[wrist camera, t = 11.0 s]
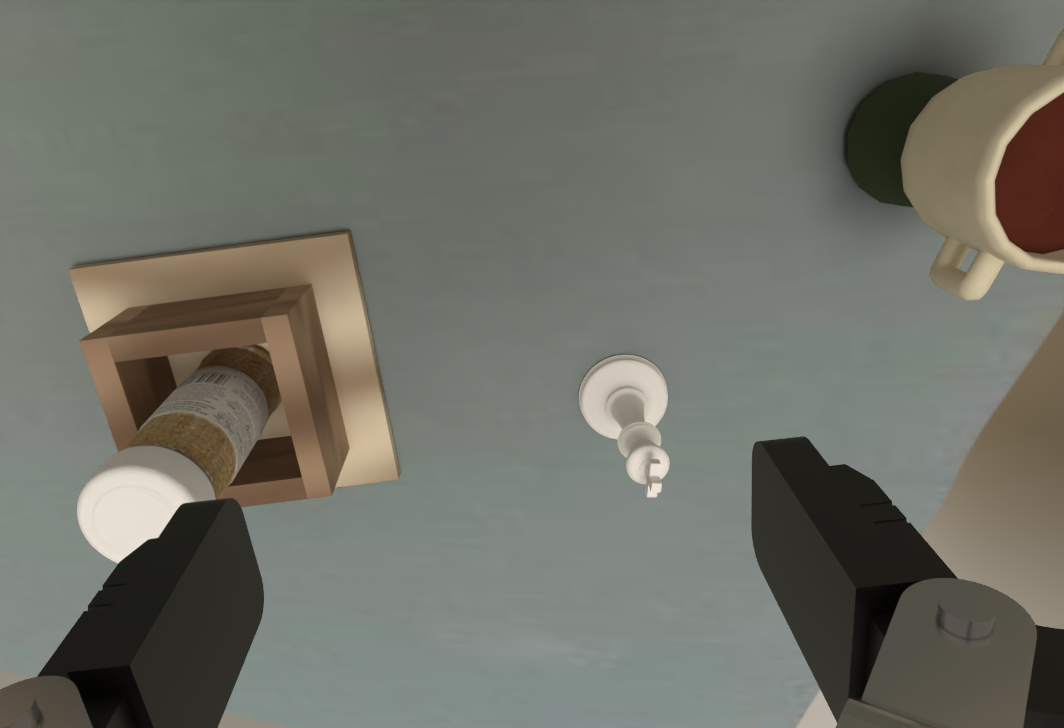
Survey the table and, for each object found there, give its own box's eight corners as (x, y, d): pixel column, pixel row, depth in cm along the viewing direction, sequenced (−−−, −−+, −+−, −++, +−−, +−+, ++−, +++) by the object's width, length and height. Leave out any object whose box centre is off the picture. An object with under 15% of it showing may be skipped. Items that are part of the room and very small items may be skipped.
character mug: (910, 263, 42) (1080, 348, 29) (790, 218, 40) (916, 288, 28) (1022, 54, 38) (1269, 54, 26) (895, -1, 37) (1090, -29, 25)
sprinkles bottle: (200, 413, 42) (75, 568, 30) (199, 333, 40) (67, 462, 28) (287, 422, 43) (200, 579, 30) (290, 344, 41) (199, 476, 28)
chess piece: (575, 434, 44) (595, 534, 35) (581, 352, 43) (605, 435, 33) (661, 436, 45) (704, 536, 35) (671, 355, 43) (719, 438, 34)
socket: (75, 265, 40) (9, 298, 34) (350, 230, 40) (326, 257, 34) (157, 503, 45) (110, 564, 40) (400, 472, 45) (387, 529, 39)
